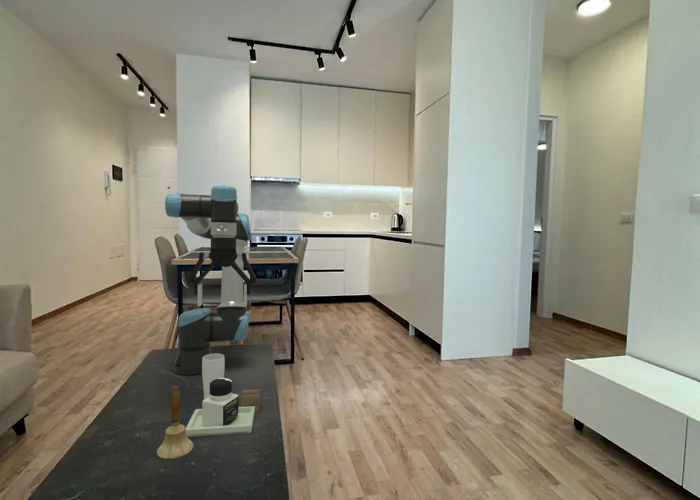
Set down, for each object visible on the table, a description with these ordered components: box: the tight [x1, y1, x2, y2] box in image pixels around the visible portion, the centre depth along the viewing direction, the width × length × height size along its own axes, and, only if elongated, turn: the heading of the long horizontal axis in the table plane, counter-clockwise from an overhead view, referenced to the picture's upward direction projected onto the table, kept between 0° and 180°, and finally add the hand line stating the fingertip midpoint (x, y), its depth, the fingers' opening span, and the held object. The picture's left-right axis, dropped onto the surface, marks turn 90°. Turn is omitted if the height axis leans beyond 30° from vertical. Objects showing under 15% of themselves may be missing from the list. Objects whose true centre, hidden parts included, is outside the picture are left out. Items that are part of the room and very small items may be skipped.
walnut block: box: [240, 388, 261, 413], centre depth 117 cm, size 5×5×5 cm
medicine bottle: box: [201, 377, 240, 427], centre depth 107 cm, size 7×7×12 cm
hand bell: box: [156, 385, 194, 460], centre depth 94 cm, size 8×8×16 cm
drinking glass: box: [201, 353, 226, 400], centre depth 120 cm, size 7×7×15 cm
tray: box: [185, 406, 256, 438], centre depth 107 cm, size 12×17×2 cm
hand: (222, 305), depth 118 cm, fingers open, 13 cm apart
